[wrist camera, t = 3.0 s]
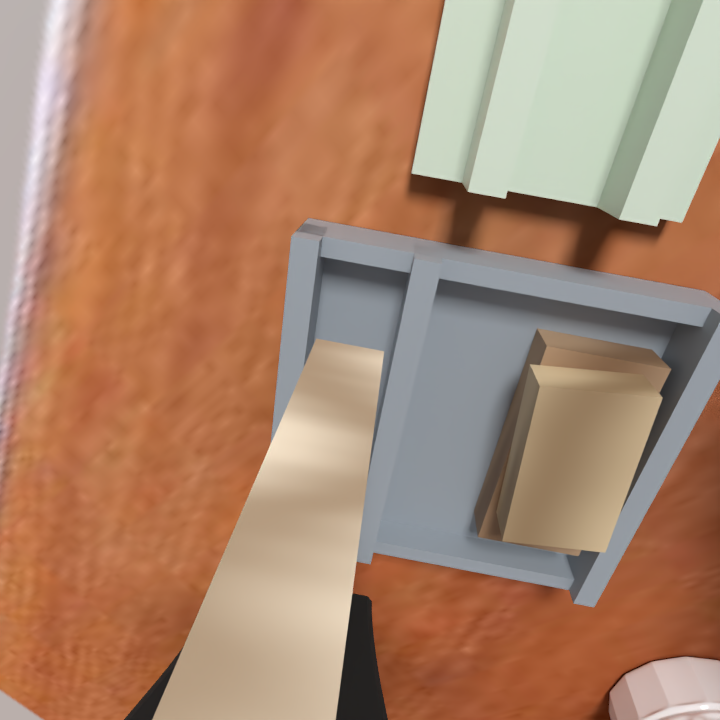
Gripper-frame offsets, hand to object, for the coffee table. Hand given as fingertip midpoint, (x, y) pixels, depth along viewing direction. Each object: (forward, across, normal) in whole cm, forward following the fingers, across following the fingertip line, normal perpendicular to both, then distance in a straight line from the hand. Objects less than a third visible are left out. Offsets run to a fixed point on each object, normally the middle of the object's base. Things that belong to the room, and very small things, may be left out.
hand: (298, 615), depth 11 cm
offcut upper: (+8, -7, 0) cm, 11 cm away
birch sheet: (+3, 0, 0) cm, 3 cm away
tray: (+10, -4, 0) cm, 11 cm away
